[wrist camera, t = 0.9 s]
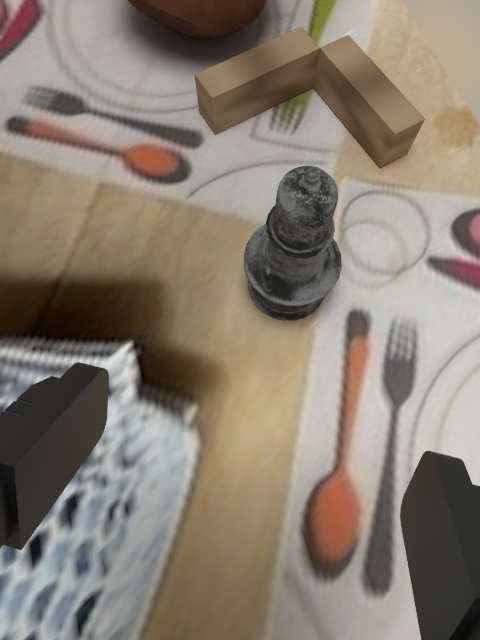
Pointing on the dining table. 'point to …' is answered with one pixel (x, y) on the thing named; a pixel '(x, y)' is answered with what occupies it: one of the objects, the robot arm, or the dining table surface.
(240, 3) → the butternut squash
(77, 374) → the robot arm
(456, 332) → the dining table surface
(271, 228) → the salt shaker
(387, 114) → the v block
